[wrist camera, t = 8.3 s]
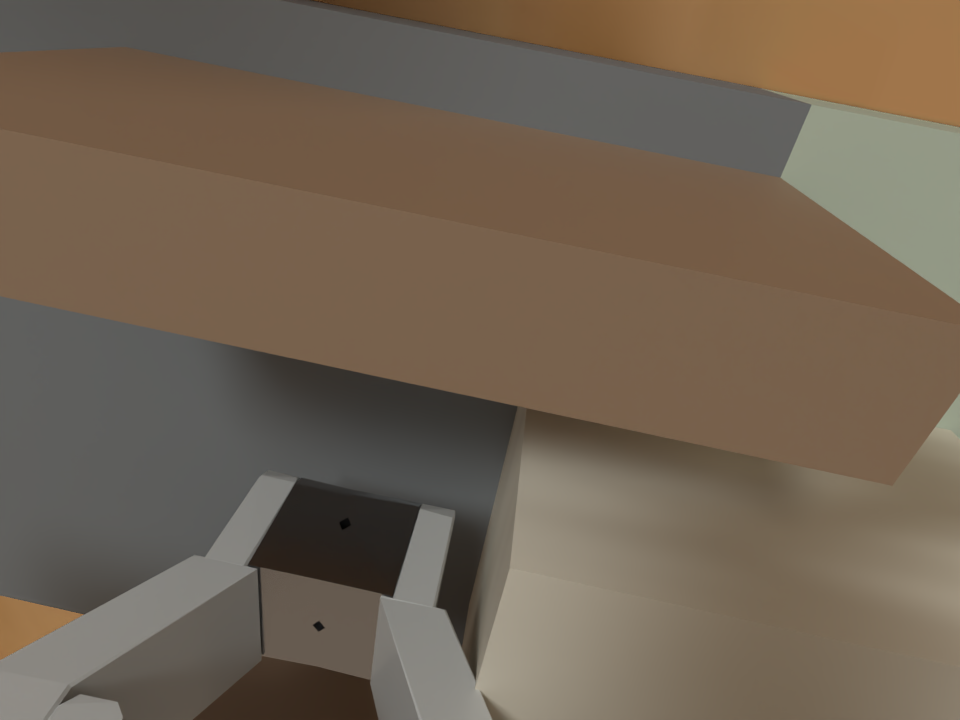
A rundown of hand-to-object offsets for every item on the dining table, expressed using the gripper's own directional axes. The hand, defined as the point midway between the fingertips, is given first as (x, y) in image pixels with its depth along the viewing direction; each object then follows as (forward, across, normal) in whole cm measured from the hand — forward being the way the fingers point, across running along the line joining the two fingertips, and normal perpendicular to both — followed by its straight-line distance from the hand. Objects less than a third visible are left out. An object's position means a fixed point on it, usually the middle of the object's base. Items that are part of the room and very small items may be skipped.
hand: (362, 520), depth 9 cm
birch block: (+1, -5, 0) cm, 5 cm away
